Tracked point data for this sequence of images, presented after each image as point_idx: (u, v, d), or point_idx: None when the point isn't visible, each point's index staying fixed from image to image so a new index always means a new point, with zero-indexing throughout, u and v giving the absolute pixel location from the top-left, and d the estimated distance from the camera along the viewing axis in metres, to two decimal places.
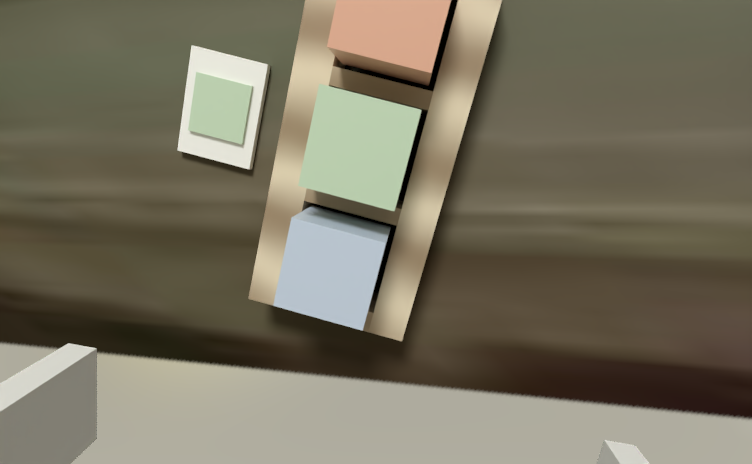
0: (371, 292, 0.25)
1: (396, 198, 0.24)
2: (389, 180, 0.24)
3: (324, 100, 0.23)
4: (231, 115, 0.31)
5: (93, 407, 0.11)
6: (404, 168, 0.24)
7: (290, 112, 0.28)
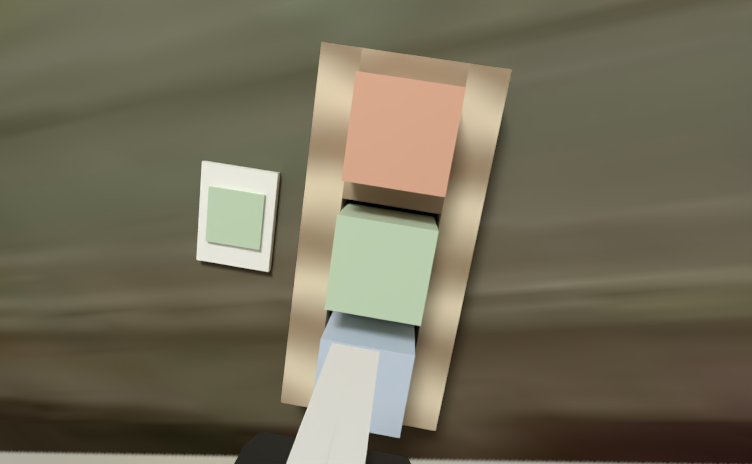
0: (405, 402, 0.26)
1: (421, 313, 0.25)
2: (413, 297, 0.24)
3: (343, 229, 0.24)
4: (246, 223, 0.32)
5: None
6: (427, 285, 0.24)
7: (306, 226, 0.28)
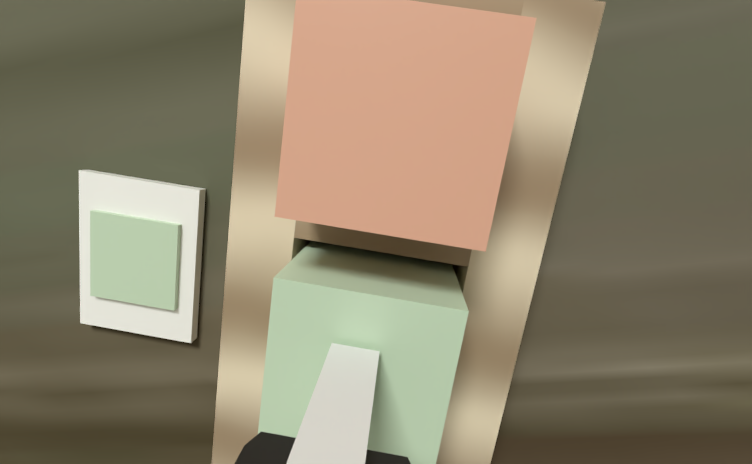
0: None
1: (434, 457, 0.13)
2: (419, 429, 0.13)
3: (286, 305, 0.13)
4: (152, 270, 0.20)
5: None
6: (445, 409, 0.13)
7: (235, 284, 0.16)
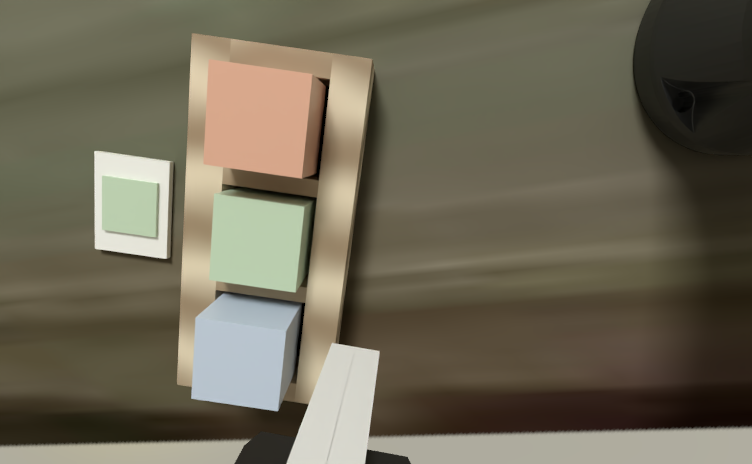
0: (280, 376, 0.27)
1: (295, 281, 0.28)
2: (287, 267, 0.28)
3: (220, 207, 0.27)
4: (141, 212, 0.33)
5: None
6: (298, 256, 0.27)
7: (190, 211, 0.29)
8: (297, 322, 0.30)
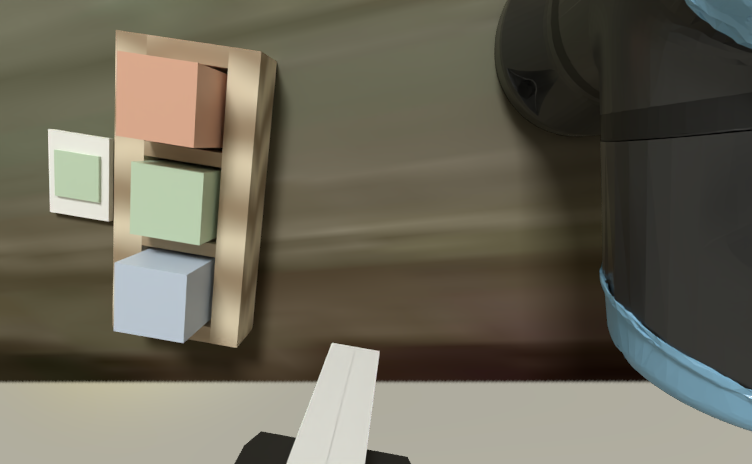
0: (184, 313, 0.33)
1: (199, 236, 0.34)
2: (192, 223, 0.33)
3: (136, 172, 0.33)
4: (86, 180, 0.39)
5: None
6: (200, 214, 0.33)
7: (118, 178, 0.35)
8: (208, 273, 0.36)
